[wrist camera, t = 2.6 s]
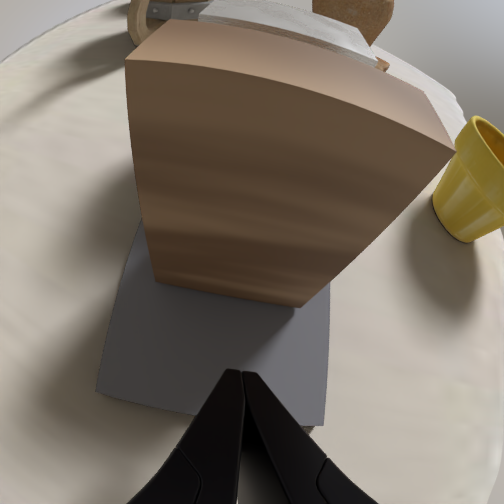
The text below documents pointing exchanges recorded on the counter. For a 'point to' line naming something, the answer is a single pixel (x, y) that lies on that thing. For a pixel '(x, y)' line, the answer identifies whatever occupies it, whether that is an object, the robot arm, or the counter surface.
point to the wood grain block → (269, 158)
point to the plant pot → (473, 183)
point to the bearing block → (291, 26)
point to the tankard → (159, 15)
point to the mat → (210, 344)
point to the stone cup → (359, 17)
